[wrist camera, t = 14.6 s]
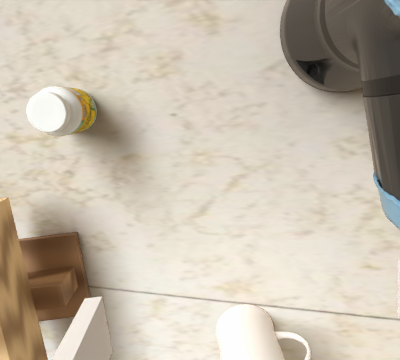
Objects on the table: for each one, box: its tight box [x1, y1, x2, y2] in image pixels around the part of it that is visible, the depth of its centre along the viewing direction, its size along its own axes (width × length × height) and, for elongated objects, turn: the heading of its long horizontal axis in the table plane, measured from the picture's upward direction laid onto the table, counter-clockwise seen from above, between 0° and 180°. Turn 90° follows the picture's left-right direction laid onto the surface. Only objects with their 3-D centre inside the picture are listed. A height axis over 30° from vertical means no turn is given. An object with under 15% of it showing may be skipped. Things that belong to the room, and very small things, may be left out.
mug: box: [216, 304, 311, 360], centre depth 46 cm, size 12×8×12 cm
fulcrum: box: [19, 232, 90, 321], centre depth 46 cm, size 12×14×6 cm
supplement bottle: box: [27, 86, 97, 136], centre depth 39 cm, size 5×5×10 cm
